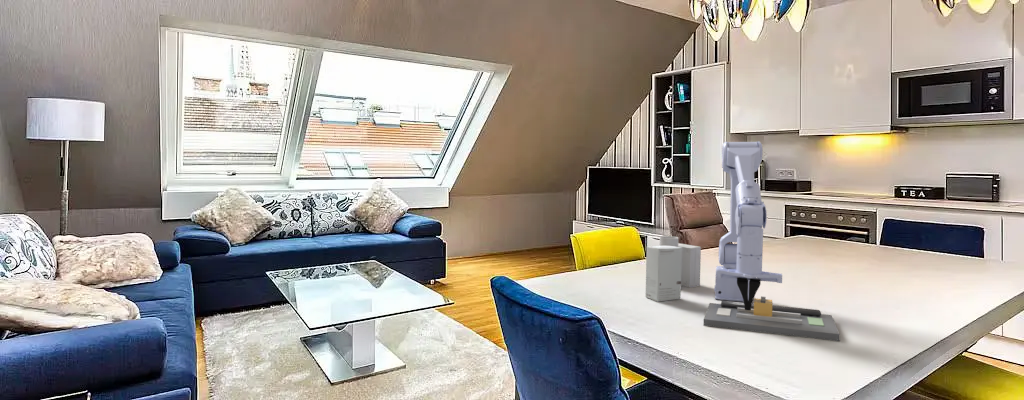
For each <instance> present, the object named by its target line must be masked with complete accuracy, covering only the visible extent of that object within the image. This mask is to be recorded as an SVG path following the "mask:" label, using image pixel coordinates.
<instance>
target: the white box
mask: <svg viewBox="0 0 1024 400" xmlns="http://www.w3.org/2000/svg"><path fill="white" fill-rule="evenodd" d="M659 246H675V247H680V248H682V258H681V287H682V286H683V287H685V288H686V287H687V288H693V287H695V288H696V287H698V286H699V287H700V286H701V262H702V261H701V260H702V258H701V257H702V256H701V253H702V252H701V251H702V247H701V246H700V245H699V246H697V245H691V244H685V243H680V242H679V237H678V236H674V235H673V236H671V235H665V236H664V235H662V236H659Z"/></svg>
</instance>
